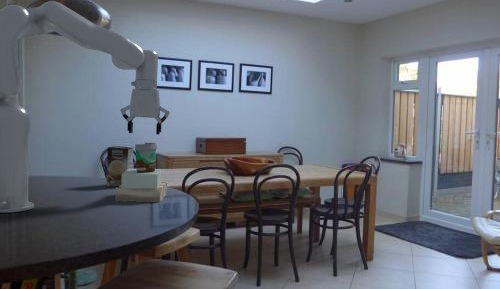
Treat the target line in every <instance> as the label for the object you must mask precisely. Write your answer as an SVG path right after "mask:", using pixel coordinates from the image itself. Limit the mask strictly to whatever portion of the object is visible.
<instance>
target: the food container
mask: <svg viewBox="0 0 500 289" xmlns="http://www.w3.org/2000/svg"><path fill="white" fill-rule="evenodd" d="M157 150H158V145H157V143H156V142H144V143H141V144H138V143H136V144H135V147H134V151H135V161H136V162H135V164H136V169H137V173H145V172H153V171H155V169H156V156H157V155H156V154H157Z"/></svg>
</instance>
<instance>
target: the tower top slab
mask: <svg viewBox="0 0 500 289" xmlns="http://www.w3.org/2000/svg"><path fill="white" fill-rule="evenodd" d="M161 182H162V168H155V171H153V172H145V173H137V168H133V169H128V170H126V171H125V172H124V173H122V186H121V188H128V189H158V187H159V185H160V183H161Z"/></svg>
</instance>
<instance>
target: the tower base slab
mask: <svg viewBox="0 0 500 289" xmlns="http://www.w3.org/2000/svg"><path fill="white" fill-rule="evenodd" d="M121 186H122V185H120V186H119V187H115V193H114V196H115V197H114V199H115V200H114V201H115V202H127V201H136V202H135V203H160V202H161V201H162V200H163V199H164V198H165V196H166V195H167V193H168V182H166V181H165V182H163V181H161V183H160V185H159V187H158V189H128V188H121Z"/></svg>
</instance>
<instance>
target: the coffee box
mask: <svg viewBox="0 0 500 289" xmlns="http://www.w3.org/2000/svg"><path fill="white" fill-rule="evenodd" d="M106 155H107V156H106V158H107V159H106V162H107V163H106V187H115V186H120V185H122V173H124V172H125V171H126V170H128V169H134V168H133V167H134V166H133V165H134V164H133V163H134V147H127V146H109V147H108V146H107V154H106Z"/></svg>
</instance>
